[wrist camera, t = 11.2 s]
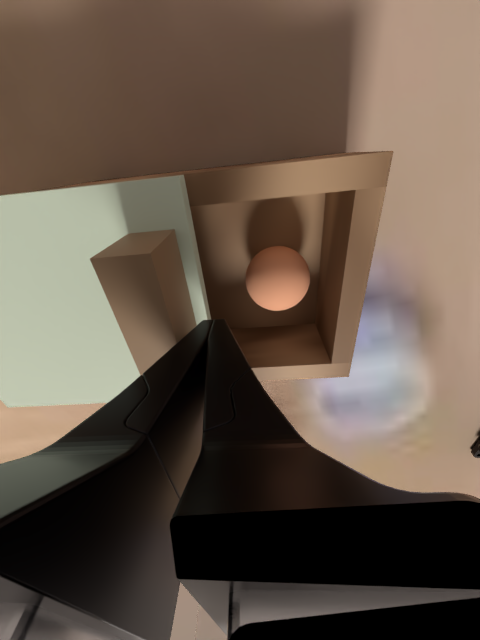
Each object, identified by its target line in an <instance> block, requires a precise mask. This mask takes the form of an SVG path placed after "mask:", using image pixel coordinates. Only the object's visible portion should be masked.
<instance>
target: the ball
mask: <svg viewBox="0 0 480 640" xmlns="http://www.w3.org/2000/svg"><path fill="white" fill-rule="evenodd" d="M245 279H246V287H247V290H248V293H249V295H250V296H251V298H252V299H253V300H254V301H255V302H256V303H257V304H258V305H260V306H261V307H263V308H265V309H268V310H273V311H281V310H286V309H289V308H291V307H293V306H295V305H296V304H297V303H299V302H300V301H301V300H302V298H303V297H304V296H305V294H306V293H307V290H308V287H309V284H310V271H309V268H308V265H307V263H306V261H305V260H304V258H303V257H302V256H301V255H300V254H299V253H298V252H297V251H295V250H293V249H291V248H288V247H285V246H273V247H269V248H266V249H264V250H262V251H260V252H259V253H258V254H256V255H255V256H254V258H253V259H252V260H251V262H250V264H249V265H248V268H247V271H246V277H245Z"/></svg>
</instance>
